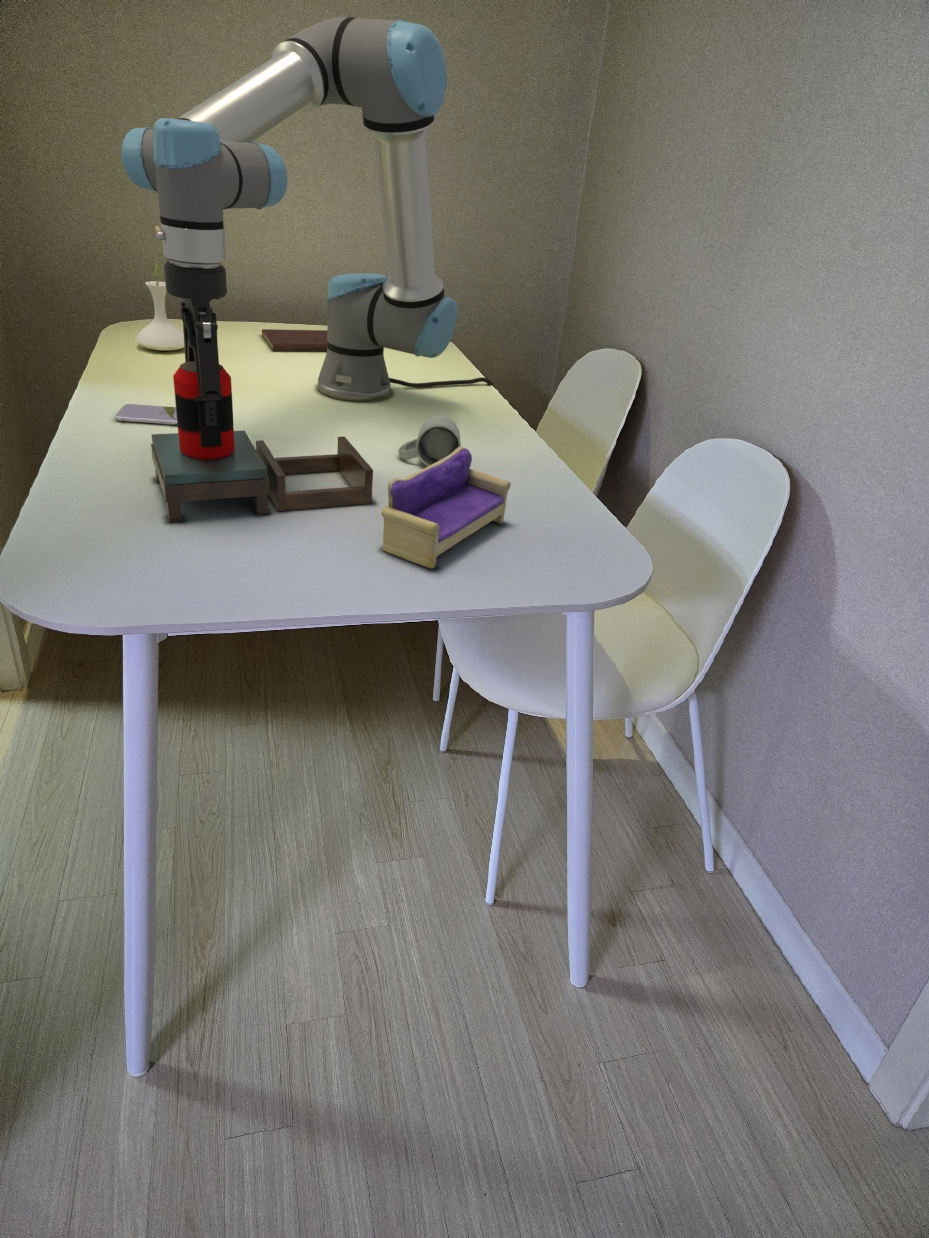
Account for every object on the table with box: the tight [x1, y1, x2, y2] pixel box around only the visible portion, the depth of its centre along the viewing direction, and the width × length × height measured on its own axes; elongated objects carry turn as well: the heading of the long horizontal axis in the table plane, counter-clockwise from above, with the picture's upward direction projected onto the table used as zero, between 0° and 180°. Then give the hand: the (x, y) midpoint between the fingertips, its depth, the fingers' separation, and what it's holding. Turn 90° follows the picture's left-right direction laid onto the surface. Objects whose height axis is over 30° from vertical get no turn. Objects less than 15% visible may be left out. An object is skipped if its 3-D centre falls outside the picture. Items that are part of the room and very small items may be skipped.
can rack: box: [255, 435, 374, 512], centre depth 123 cm, size 14×14×6 cm
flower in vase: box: [135, 225, 184, 351], centre depth 175 cm, size 13×11×25 cm
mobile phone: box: [115, 403, 178, 426], centre depth 143 cm, size 8×1×15 cm
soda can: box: [172, 361, 235, 460], centre depth 111 cm, size 8×8×12 cm
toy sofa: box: [380, 446, 512, 569], centre depth 112 cm, size 21×9×10 cm, turn 148°
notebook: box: [261, 328, 327, 353], centre depth 197 cm, size 15×20×2 cm
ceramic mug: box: [397, 415, 462, 467], centre depth 137 cm, size 11×8×8 cm
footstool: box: [150, 430, 270, 523], centre depth 116 cm, size 14×16×7 cm
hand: (206, 435), depth 113 cm, fingers closed on soda can, 7 cm apart
